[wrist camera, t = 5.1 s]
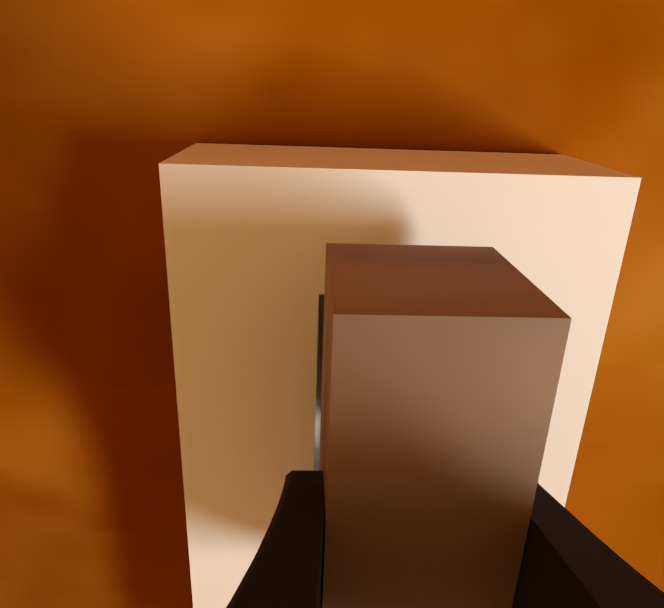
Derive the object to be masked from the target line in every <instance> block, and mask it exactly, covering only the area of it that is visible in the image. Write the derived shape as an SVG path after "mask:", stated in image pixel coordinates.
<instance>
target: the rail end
mask: <svg viewBox="0 0 664 608" xmlns="http://www.w3.org/2000/svg"><path fill="white" fill-rule="evenodd" d="M571 319H572V318H571V317H570V316H569V315H567V314H566V313H565V312H564V311H563V310H562V309H561V308H560V307H559V306H558V305H556V304H555V303H554V302H553V301H552V300H551V299H550V298H549V297H548V296H546V295H545V294H544V293H543V292H542V291H541V290H540V289H539V288H538V287H537V286H535V285H534V284H533V283H532V282H531V281H530V280H529V279H528V278H527V277H525V276H524V275H523V274H522V273H521V272H520V271H519V270H518V269H517V268H516V267H514V266H513V265H512V264H511V263H510V262H509V261H508V260H507V259H506V258H504V257H503V256H502V255H501V254H500V253H499V252H498V251H497V250H496V249H495V248H493V247H478V246H434V245H390V244H346V243H326V260H325V292H324V324H323V357H322V389H321V422H320V454H319V471H323V482H324V498H325V517H324V544H323V571H322V598H321V608H512V605H513V600H514V595H515V590H516V586H517V581H518V576H519V571H520V566H521V561H522V557H523V552H524V547H525V542H526V537H527V532H528V527H529V523H530V518H531V513H532V508H533V503H534V498H535V494H536V489H537V484H538V479H539V474H540V469H541V465H542V460H543V455H544V450H545V445H546V440H547V435H548V431H549V426H550V421H551V416H552V411H553V406H554V402H555V397H556V392H557V387H558V382H559V377H560V373H561V368H562V363H563V358H564V353H565V348H566V343H567V339H568V334H569V329H570V324H571Z"/></svg>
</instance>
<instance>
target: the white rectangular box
mask: <svg viewBox="0 0 664 608" xmlns="http://www.w3.org/2000/svg"><path fill="white" fill-rule="evenodd" d="M159 176H160V188H161V201H162V214H163V227H164V240H165V253H166V266H167V279H168V292H169V304H170V317H171V330H172V343H173V356H174V369H175V382H176V395H177V408H178V420H179V433H180V446H181V459H182V472H183V485H184V498H185V511H186V524H187V536H188V549H189V562H190V575H191V588H192V601H193V608H226V607H227V605H228V604H229V602H230V600H231V599H232V597H233V595H234V593H235V592H236V590H237V588H238V586H239V584H240V583H241V581H242V579H243V577H244V575H245V574H246V572H247V570H248V568H249V566H250V564H251V563H252V561H253V559H254V557H255V555H256V553H257V551H258V549H259V546H260V544H261V542H262V540H263V538H264V536H265V534H266V531H267V529H268V527H269V525H270V523H271V520H272V518H273V515H274V513H275V510H276V508H277V505H278V502H279V500H280V497H281V493H282V490H283V487H284V482H285V477H286V475H287V474H288V473H289V472H291V471H292V470H311V471H319V454H320V422H321V389H322V357H323V324H324V292H325V260H326V243H346V244H390V245H434V246H478V247H493V248H495V249H496V250H497V251H498V252H499V253H500V254H501V255H502V256H503V257H504V258H506V259H507V260H508V261H509V262H510V263H511V264H512V265H513V266H514V267H516V268H517V269H518V270H519V271H520V272H521V273H522V274H523V275H524V276H525V277H527V278H528V279H529V280H530V281H531V282H532V283H533V284H534V285H535V286H537V287H538V288H539V289H540V290H541V291H542V292H543V293H544V294H545V295H546V296H548V297H549V298H550V299H551V300H552V301H553V302H554V303H555V304H556V305H558V306H559V307H560V308H561V309H562V310H563V311H564V312H565V313H566V314H567V315H569V316H570V317H571V318H572V319H571V324H570V329H569V334H568V339H567V343H566V348H565V353H564V358H563V363H562V368H561V373H560V377H559V382H558V387H557V392H556V397H555V402H554V406H553V411H552V416H551V421H550V426H549V431H548V435H547V440H546V445H545V450H544V455H543V460H542V465H541V469H540V474H539V479H538V484H539V485H541V486H542V487H543V488H544V489H545V490H546V491H547V492H548V493H549V494H550V495H551V496H552V497H554V498H555V499H556V500H557V501H558V502H559V503H560V504H561V505H562V506H563V507H565V503H566V499H567V495H568V490H569V486H570V482H571V477H572V473H573V469H574V465H575V460H576V456H577V452H578V448H579V443H580V439H581V435H582V430H583V426H584V422H585V418H586V413H587V409H588V405H589V401H590V396H591V392H592V388H593V383H594V379H595V375H596V371H597V366H598V362H599V358H600V353H601V349H602V345H603V341H604V336H605V332H606V328H607V324H608V319H609V315H610V311H611V306H612V302H613V298H614V294H615V289H616V285H617V281H618V277H619V272H620V268H621V264H622V259H623V255H624V251H625V247H626V242H627V238H628V234H629V229H630V225H631V221H632V217H633V212H634V208H635V204H636V200H637V195H638V191H639V187H640V182H641V177H637V176H634V175H630V174H627V173H624V172H620V171H617V170H613V169H610V168H607V167H603V166H600V165H597V164H593V163H590V162H586V161H583V160H580V159H576V158H573V157H569V156H566V155H563V154H533V153H501V152H469V151H438V150H406V149H374V148H342V147H310V146H278V145H246V144H214V143H195V144H193V145H191V146H189V147H188V148H186V149H184V150H182V151H180V152H179V153H177V154H175V155H173V156H171V157H169V158H168V159H166V160H164V161H162V162H160V163H159Z"/></svg>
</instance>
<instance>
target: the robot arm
mask: <svg viewBox="0 0 664 608" xmlns="http://www.w3.org/2000/svg"><path fill="white" fill-rule="evenodd" d="M324 517H325V498H324V482H323V471H311V470H292V471H291V472H289V473H288V474H287V475H286V477H285V482H284V487H283V490H282V493H281V497H280V500H279V502H278V505H277V508H276V510H275V513H274V515H273V518H272V520H271V523H270V525H269V527H268V529H267V531H266V534H265V536H264V538H263V540H262V542H261V544H260V546H259V549H258V551H257V553H256V555H255V557H254V559H253V561H252V563H251V564H250V566H249V568H248V570H247V572H246V574H245V575H244V577H243V579H242V581H241V583H240V584H239V586H238V588H237V590H236V592H235V593H234V595H233V597H232V599H231V600H230V602H229V604H228V605H227V607H226V608H321V598H322V571H323V544H324ZM512 608H664V593H663V592H662V591H661V590H660V589H658V588H657V587H656V586H655V585H653V584H652V583H651V582H650V581H648V580H647V579H646V578H645V577H643V576H642V575H641V574H640V573H638V572H637V571H636V570H635V569H634V568H632V567H631V566H630V565H629V564H628V563H626V562H625V561H624V560H623V559H622V558H621V557H619V556H618V555H617V554H616V553H615V552H614V551H612V550H611V549H610V548H609V547H608V546H607V545H605V544H604V543H603V542H602V541H601V540H600V539H599V538H598V537H596V536H595V535H594V534H593V533H592V532H591V531H590V530H589V529H587V528H586V527H585V526H584V525H583V524H582V523H581V522H580V521H579V520H577V519H576V518H575V517H574V516H573V515H572V514H571V513H570V512H569V511H568V510H567V509H565V508H564V507H563V506H562V505H561V504H560V503H559V502H558V501H557V500H556V499H555V498H554V497H552V496H551V495H550V494H549V493H548V492H547V491H546V490H545V489H544V488H543V487H542V486H541V485H539V484H537V489H536V494H535V498H534V503H533V508H532V513H531V518H530V523H529V527H528V532H527V537H526V542H525V547H524V552H523V557H522V561H521V566H520V571H519V576H518V581H517V586H516V590H515V595H514V600H513V605H512Z"/></svg>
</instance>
